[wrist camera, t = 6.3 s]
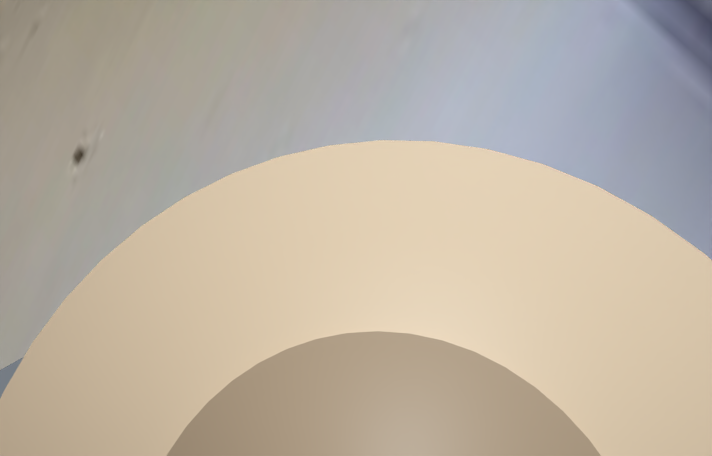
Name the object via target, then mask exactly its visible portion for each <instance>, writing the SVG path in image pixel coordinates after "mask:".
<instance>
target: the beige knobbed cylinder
mask: <svg viewBox="0 0 712 456" xmlns="http://www.w3.org/2000/svg"><path fill="white" fill-rule="evenodd" d="M0 456H712V260H711V259H710V258H709V257H708V256H706V255H705V254H704V253H703V252H701V251H700V250H699V249H697V248H696V247H694V246H693V245H692V244H690V243H689V242H687V241H686V240H685V239H683V238H682V237H680V236H679V235H678V234H676V233H675V232H673V231H672V230H671V229H669V228H668V227H666V226H665V225H664V224H662V223H661V222H659V221H658V220H657V219H655V218H654V217H652V216H651V215H649V214H647V213H645V212H644V211H642V210H640V209H638V208H636V207H634V206H633V205H631V204H629V203H627V202H625V201H624V200H622V199H620V198H618V197H616V196H614V195H613V194H611V193H609V192H607V191H605V190H604V189H602V188H600V187H598V186H596V185H593V184H591V183H588V182H586V181H583V180H581V179H578V178H576V177H573V176H571V175H569V174H566V173H564V172H561V171H559V170H556V169H554V168H551V167H549V166H546V165H544V164H541V163H537V162H533V161H530V160H526V159H522V158H518V157H515V156H511V155H507V154H504V153H500V152H496V151H493V150H489V149H483V148H476V147H469V146H462V145H455V144H448V143H441V142H435V141H392V140H378V141H369V142H359V143H349V144H339V145H329V146H324V147H320V148H316V149H311V150H307V151H303V152H298V153H294V154H289V155H285V156H281V157H277V158H274V159H272V160H269V161H266V162H263V163H260V164H258V165H255V166H252V167H249V168H247V169H244V170H241V171H238V172H235V173H233V174H230V175H228V176H226V177H224V178H222V179H220V180H218V181H216V182H214V183H212V184H210V185H208V186H206V187H204V188H202V189H200V190H198V191H196V192H194V193H192V194H190V195H188V196H186V197H184V198H183V199H181V200H180V201H178V202H177V203H175V204H174V205H172V206H171V207H169V208H168V209H166V210H165V211H163V212H162V213H160V214H159V215H157V216H156V217H154V218H153V219H151V220H150V221H148V222H147V223H145V224H144V225H142V226H141V227H140V228H139V229H137V230H136V231H135V232H134V233H133V234H132V235H130V236H129V237H128V238H127V239H126V240H124V241H123V242H122V243H121V244H120V245H119V246H117V247H116V248H115V249H114V250H113V251H112V252H110V253H109V254H108V255H107V256H106V257H104V258H103V259H102V260H101V261H100V262H99V263H98V264H97V265H96V266H95V268H94V269H93V270H92V271H91V272H90V273H89V274H88V275H87V276H86V277H85V278H84V279H83V280H82V281H81V282H80V284H79V285H78V286H77V287H76V288H75V289H74V290H73V291H72V292H71V293H70V294H69V295H68V296H67V297H66V298H65V300H64V301H63V302H62V304H61V305H60V306H59V308H58V309H57V310H56V312H55V313H54V314H53V316H52V317H51V318H50V320H49V321H48V322H47V324H46V325H45V326H44V328H43V329H42V330H41V332H40V333H39V335H38V336H37V337H36V339H35V340H34V341H33V343H32V344H31V346H30V348H29V349H28V351H27V353H26V354H25V356H24V358H23V359H22V361H21V363H20V365H19V366H18V368H17V370H16V371H15V373H14V375H13V376H12V378H11V380H10V382H9V383H8V385H7V387H6V388H5V390H4V392H3V394H2V396H1V398H0Z"/></svg>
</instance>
